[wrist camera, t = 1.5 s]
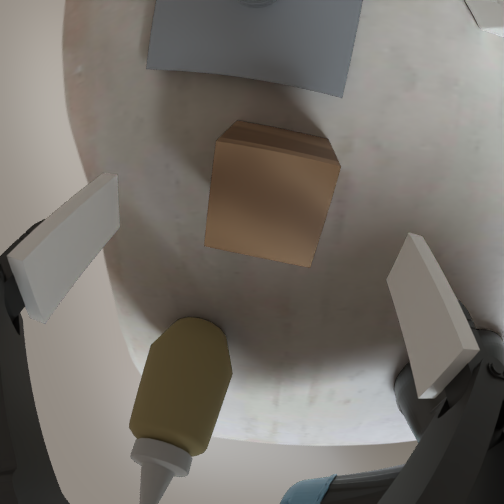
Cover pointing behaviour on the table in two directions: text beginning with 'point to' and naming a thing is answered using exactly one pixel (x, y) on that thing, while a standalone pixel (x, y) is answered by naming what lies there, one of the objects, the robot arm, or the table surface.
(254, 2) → the post
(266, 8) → the base plate
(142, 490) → the squeeze bottle
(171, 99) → the table surface
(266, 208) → the brown wooden cube
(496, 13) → the jar
